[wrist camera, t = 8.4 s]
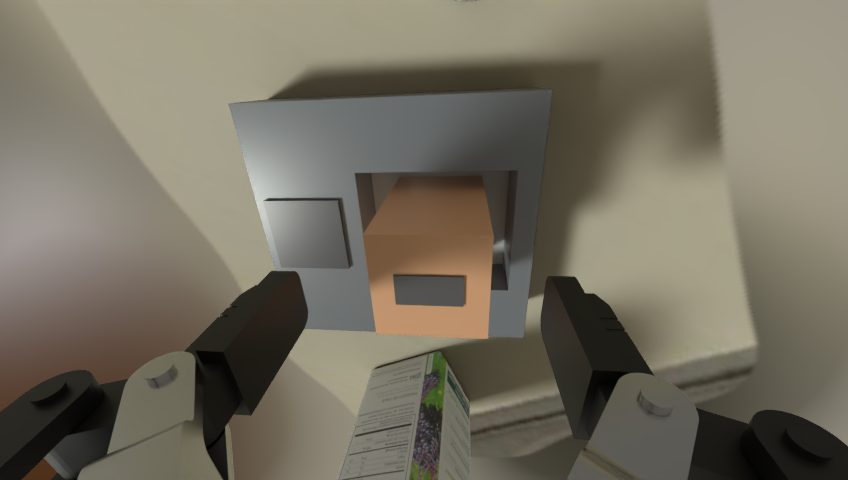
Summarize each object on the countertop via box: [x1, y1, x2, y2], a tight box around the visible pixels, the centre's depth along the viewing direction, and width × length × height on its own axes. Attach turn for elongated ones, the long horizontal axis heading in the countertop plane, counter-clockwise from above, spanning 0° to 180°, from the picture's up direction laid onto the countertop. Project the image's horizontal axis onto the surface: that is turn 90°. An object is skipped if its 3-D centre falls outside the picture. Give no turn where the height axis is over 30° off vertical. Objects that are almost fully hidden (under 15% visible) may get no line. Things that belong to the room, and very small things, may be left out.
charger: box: [363, 176, 494, 339], centre depth 14 cm, size 4×4×7 cm
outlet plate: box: [229, 88, 553, 338], centre depth 17 cm, size 12×13×3 cm
